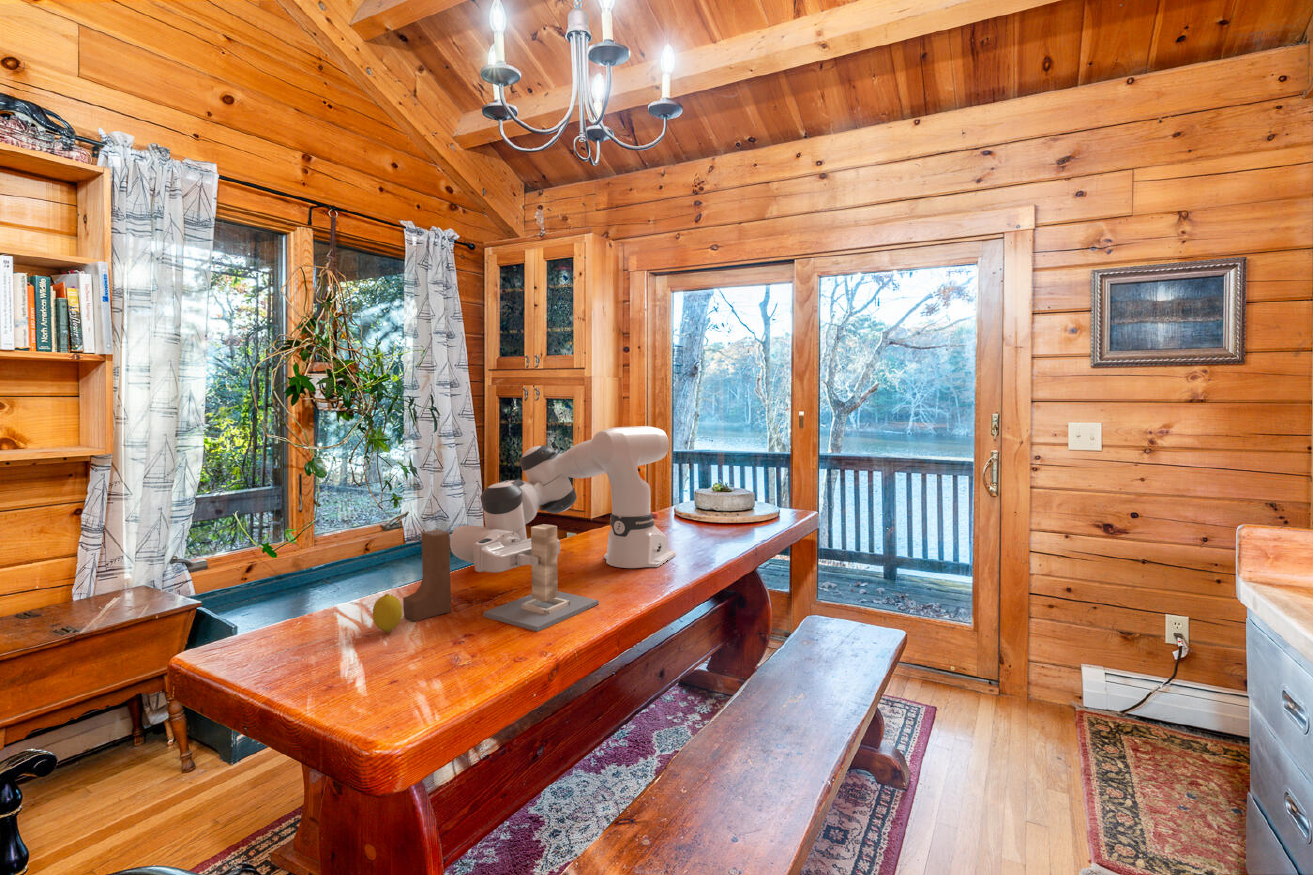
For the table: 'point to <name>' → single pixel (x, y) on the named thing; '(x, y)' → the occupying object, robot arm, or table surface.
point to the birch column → (544, 562)
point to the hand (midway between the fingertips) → (547, 558)
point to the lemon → (387, 612)
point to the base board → (540, 610)
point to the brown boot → (431, 579)
